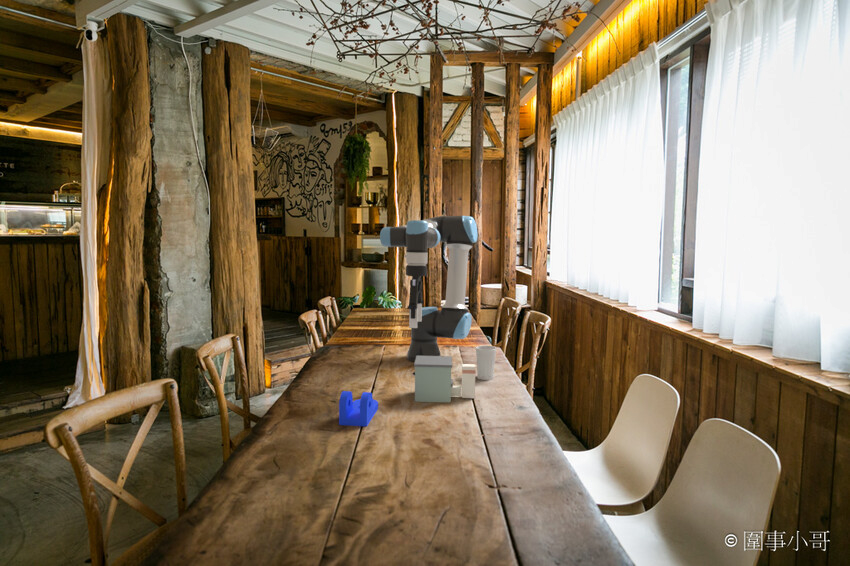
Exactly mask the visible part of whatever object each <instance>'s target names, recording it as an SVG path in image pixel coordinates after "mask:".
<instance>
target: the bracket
mask: <svg viewBox="0 0 850 566" xmlns="http://www.w3.org/2000/svg"><path fill="white" fill-rule="evenodd" d="M353 399H354V398H353V392H352V391H350V390H349V391H347V390H343V391H341V393H340V397H339V403H338V425H339V426H353V427H366V428H367V427H368V425H369V424H370V423H371V421H372V419H374V416H375V415H376V413H377V412H378V410H379V401H378V400H376V399H374V398H373V393H372V392H369V391H368V392H366V391H363V392H362V394H361V397H360V398H359V399H355V400H353Z"/></svg>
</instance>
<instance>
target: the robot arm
mask: <svg viewBox="0 0 850 566" xmlns="http://www.w3.org/2000/svg"><path fill="white" fill-rule="evenodd" d="M478 235H479V234H478V228H477V222H476V221H475V219H474V217H473V216H468V215H445V216H444V215H440V216H434V217H430V218H425V219H422V220H416V219H413V220H408V221H407V222H406V224H405V225H400V226H385V227H383V228H382V229H380V234H379V241H380V243H381V246H383V247H388V248H405V252H406V253H405V254H404V256H403V257H404V259H405V264H407V265H406V266H405V276H406V277H411V279H410V280H409V281H410V282H409V296H408V297H409V299H408V305H407V306H406V307H407V308H406V309H407V310H409V314H408V316H409V320H408V321H409V323H408V325H409V326H408V328H409V329H410V331H411V332H410V334H411V335H410V339H411V341H410V344H409V347H408V350H407V353H406V359H407V360H408V361H410V362H414V363H415V360H416V356H442V354H441V350H440V348H439V345H438V338H444V339H454V340H464V339H466V338H467V337H468V335H469V334H470V330H471V327H472V320H473V318H472V317H473V316H472V313H470V312H468V311H469V308H468V307H467V305H466V292H467V278H468V277H467V276H468V265H469V251H470V250H471V249H472V248H473V244H475V243H477V241H478ZM439 243H445V245H446V247H447V248H448V259H447V260H448V261H447V263H448V264H447V275H446V289H445V303H444V304H443V305H442V306H441V309H440V310H439V309H438V307H437V306H424V307H423V304H424V303H425V301H424V299H423V281H422V280H423V277H426V276H427V275H428V266H427V264H428V256H429V255H428V254H429V253H428V249H432V248H435V247H437V246H438V245H439Z"/></svg>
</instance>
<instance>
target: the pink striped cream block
mask: <svg viewBox="0 0 850 566" xmlns="http://www.w3.org/2000/svg"><path fill="white" fill-rule="evenodd" d="M476 371H477V369H476V364H474V363H473V364H469V363H467V364H466V363H465V364H464V363H462V364H461V385H453V387H451V397H461V398H462V399H476V373H477V372H476Z"/></svg>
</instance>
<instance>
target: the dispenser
mask: <svg viewBox="0 0 850 566" xmlns="http://www.w3.org/2000/svg"><path fill="white" fill-rule="evenodd" d="M413 367H414V402H416V403H417V402H420V403H421V402H422V403H424V402H426V403H427V402H428V403H449V404H450V403H451V402H452V401H451V400H452V398H451V397H452V396H451V387H453V386H454V385H453V384H454V383H453V382H454V379H453V378H452V368H453V356H451V355H450V356H449V355H447V356H444V355H443V356H442V355H441V356H416V360H415V362H414V365H413Z"/></svg>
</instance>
